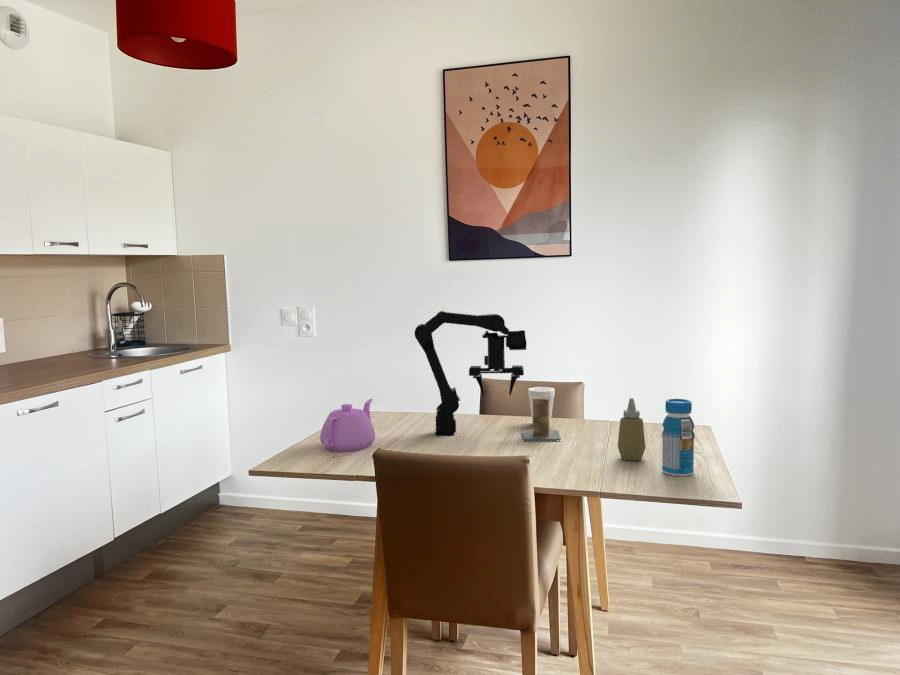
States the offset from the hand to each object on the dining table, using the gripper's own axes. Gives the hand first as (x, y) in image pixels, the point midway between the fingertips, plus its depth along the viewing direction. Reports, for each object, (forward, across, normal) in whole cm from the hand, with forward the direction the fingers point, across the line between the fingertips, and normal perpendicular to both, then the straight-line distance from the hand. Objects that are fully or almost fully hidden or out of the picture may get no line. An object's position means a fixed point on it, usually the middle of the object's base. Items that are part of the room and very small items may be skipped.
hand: (496, 395), depth 239 cm
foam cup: (+13, -16, -12) cm, 24 cm away
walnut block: (+12, -15, +7) cm, 21 cm away
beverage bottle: (+13, -50, +48) cm, 71 cm away
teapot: (+13, +48, +18) cm, 53 cm away
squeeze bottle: (+13, -40, +34) cm, 54 cm away
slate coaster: (+13, -15, +7) cm, 21 cm away
